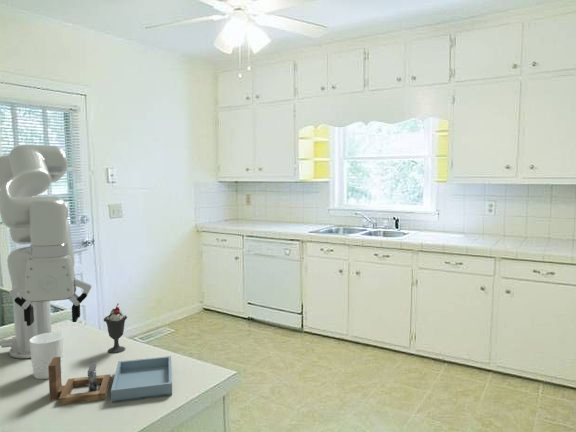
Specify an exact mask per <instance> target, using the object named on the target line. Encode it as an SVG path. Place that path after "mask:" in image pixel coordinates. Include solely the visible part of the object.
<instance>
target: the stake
mask: <svg viewBox="0 0 576 432" xmlns="http://www.w3.org/2000/svg"><path fill="white" fill-rule="evenodd" d="M96 369H97V362H96V361H95V362H91V363H90V364H89V366H88V369H87V377H88V381H89V385H88V392H93V391H98V389H97V387H98V384H97V381H96V376H97V370H96Z"/></svg>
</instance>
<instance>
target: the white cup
mask: <svg viewBox="0 0 576 432" xmlns="http://www.w3.org/2000/svg"><path fill="white" fill-rule="evenodd" d="M51 332H52V331H51ZM29 342H30V351H31V358H30V359H31V366H32V373H33V374H32V375H33V378H34V379H37V380H49V369H48V366H49V364H50V363H51V361H52V359H53V358H54V357H60V360H61V374H62V373H63V362H64V334H63V333H61V332H56V331H55V332H52V333H44V334H40V335H37V336H34V337H32V338H31V339H30V340H29Z"/></svg>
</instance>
